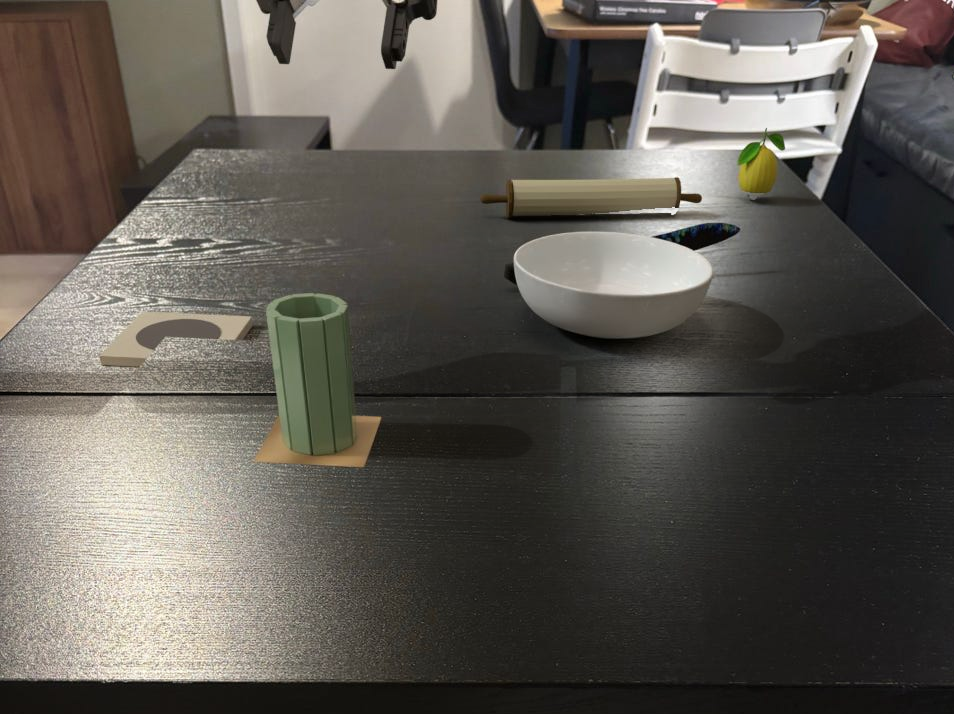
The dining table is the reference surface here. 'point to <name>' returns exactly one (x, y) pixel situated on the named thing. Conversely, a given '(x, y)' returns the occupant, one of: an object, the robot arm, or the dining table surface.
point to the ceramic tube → (313, 372)
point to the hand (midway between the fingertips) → (333, 59)
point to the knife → (678, 239)
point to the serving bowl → (611, 282)
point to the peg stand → (348, 457)
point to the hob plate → (170, 334)
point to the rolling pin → (589, 196)
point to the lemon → (759, 165)
